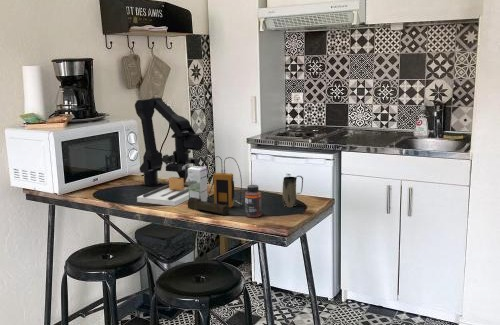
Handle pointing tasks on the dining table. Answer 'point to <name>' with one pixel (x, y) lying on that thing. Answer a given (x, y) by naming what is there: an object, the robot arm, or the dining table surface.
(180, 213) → the dining table surface
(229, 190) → the multimeter
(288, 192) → the mug
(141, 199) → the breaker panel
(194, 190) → the syrup box
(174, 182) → the lever
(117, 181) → the dining table surface
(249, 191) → the supplement bottle
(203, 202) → the hand tool
